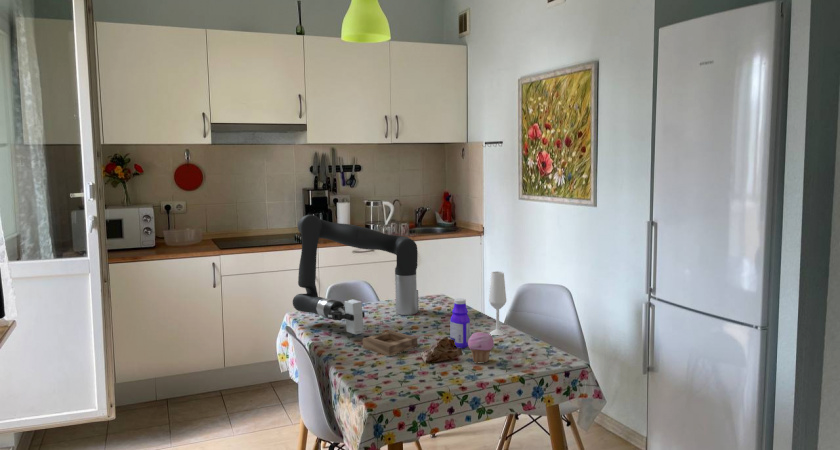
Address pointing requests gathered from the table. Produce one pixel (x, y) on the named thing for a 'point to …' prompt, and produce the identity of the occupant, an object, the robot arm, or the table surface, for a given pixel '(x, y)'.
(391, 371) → the table surface
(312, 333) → the table surface
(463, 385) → the table surface
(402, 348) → the walnut socket block
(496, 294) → the champagne flute
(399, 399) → the table surface
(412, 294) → the robot arm
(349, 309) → the skincare box
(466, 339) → the bottle
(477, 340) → the cupcake
